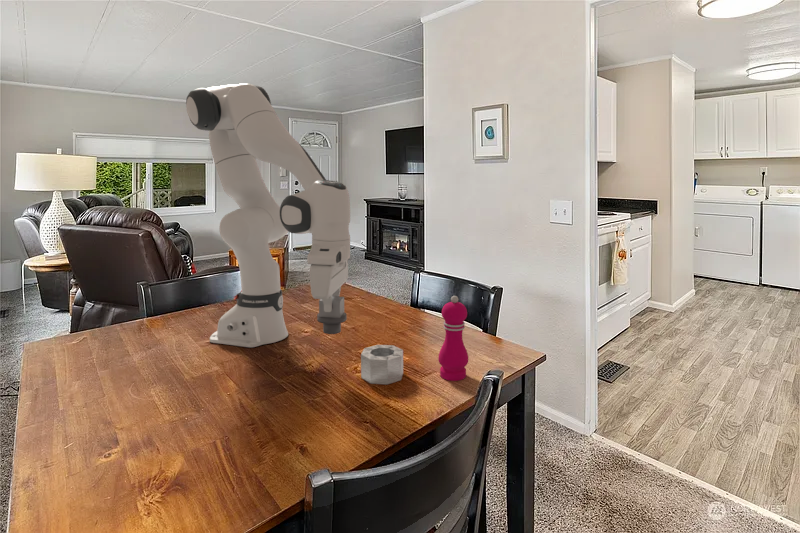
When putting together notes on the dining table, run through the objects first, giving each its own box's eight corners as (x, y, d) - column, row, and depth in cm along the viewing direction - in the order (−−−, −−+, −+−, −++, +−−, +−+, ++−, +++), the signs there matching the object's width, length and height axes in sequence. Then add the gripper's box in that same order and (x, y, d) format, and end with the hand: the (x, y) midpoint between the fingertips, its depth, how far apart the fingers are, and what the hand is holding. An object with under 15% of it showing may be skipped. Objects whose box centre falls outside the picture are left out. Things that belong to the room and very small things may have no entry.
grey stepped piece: (313, 335, 109) (313, 301, 108) (322, 325, 116) (321, 294, 115) (342, 337, 109) (342, 303, 107) (349, 327, 115) (349, 295, 114)
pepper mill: (435, 370, 116) (437, 292, 112) (464, 369, 116) (466, 291, 113) (440, 382, 109) (442, 300, 105) (471, 381, 109) (473, 299, 106)
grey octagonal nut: (358, 383, 109) (358, 358, 107) (366, 366, 118) (366, 344, 117) (399, 385, 107) (399, 360, 106) (404, 368, 117) (404, 345, 116)
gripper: (330, 243, 119) (330, 295, 122) (304, 257, 99) (305, 319, 102) (354, 244, 118) (353, 297, 121) (333, 259, 98) (333, 321, 101)
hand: (331, 307), depth 111 cm, fingers closed on grey stepped piece, 4 cm apart
